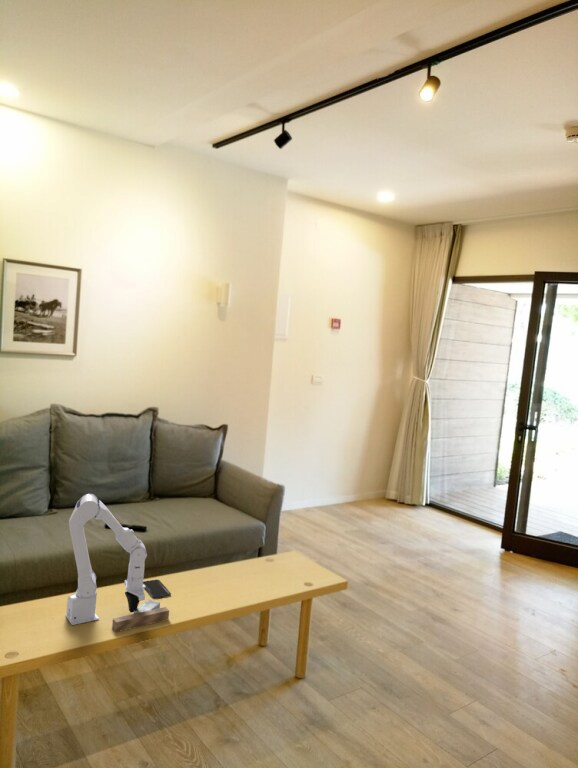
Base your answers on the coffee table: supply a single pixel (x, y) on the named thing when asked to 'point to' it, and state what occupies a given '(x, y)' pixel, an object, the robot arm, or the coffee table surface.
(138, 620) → the walnut bar
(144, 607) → the plate block
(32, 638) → the coffee table surface
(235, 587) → the coffee table surface
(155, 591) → the phone
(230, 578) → the coffee table surface
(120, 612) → the coffee table surface
